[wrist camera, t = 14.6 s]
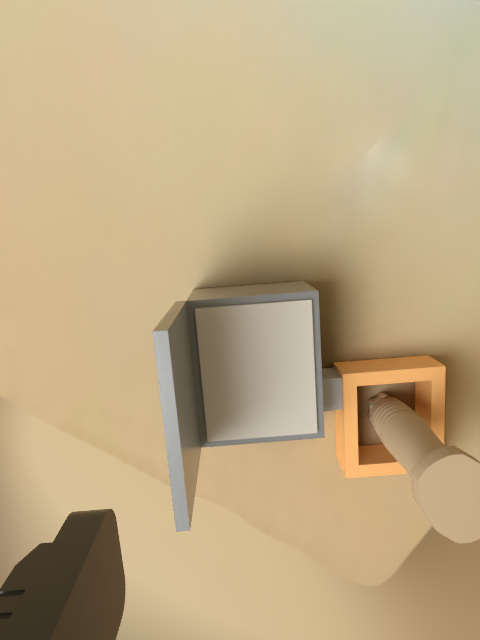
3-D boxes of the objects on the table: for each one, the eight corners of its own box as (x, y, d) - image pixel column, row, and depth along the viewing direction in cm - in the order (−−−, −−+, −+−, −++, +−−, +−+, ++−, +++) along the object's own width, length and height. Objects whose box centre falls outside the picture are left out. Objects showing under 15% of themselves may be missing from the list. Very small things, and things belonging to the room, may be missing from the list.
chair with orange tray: (185, 289, 40) (152, 331, 23) (428, 270, 40) (571, 298, 23) (203, 469, 43) (186, 618, 27) (426, 451, 43) (549, 588, 27)
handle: (386, 367, 42) (470, 441, 27) (419, 419, 43) (517, 517, 28) (343, 394, 42) (402, 481, 27) (376, 445, 43) (451, 555, 28)
